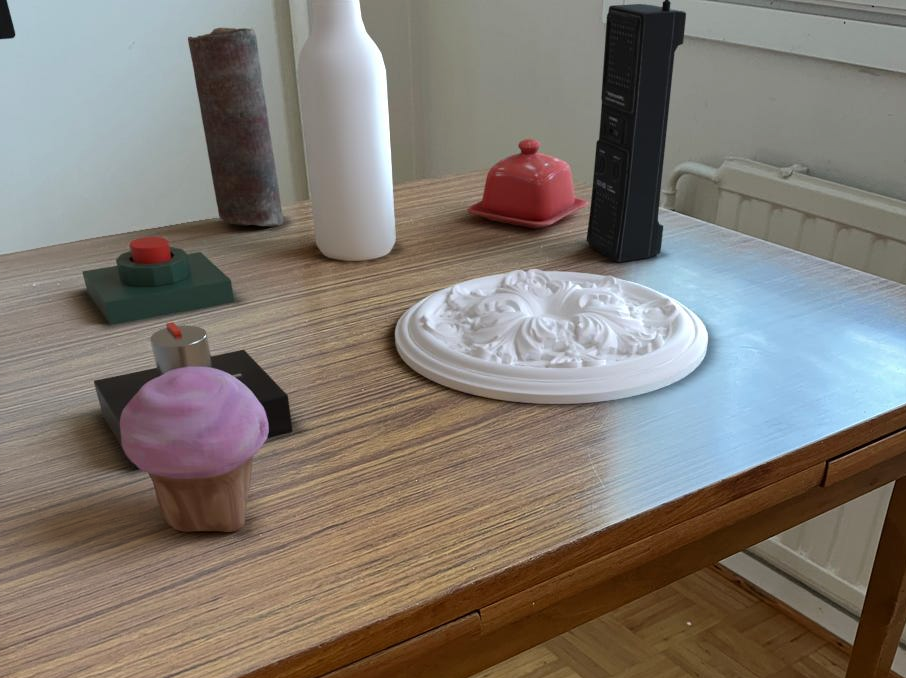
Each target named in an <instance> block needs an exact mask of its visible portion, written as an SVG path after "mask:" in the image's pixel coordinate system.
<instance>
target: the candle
mask: <svg viewBox="0 0 906 678" xmlns="http://www.w3.org/2000/svg"><path fill="white" fill-rule="evenodd" d="M187 44H188V48H189V52H190V53H189V54H190V58H191V62H192V68H193V74H194V80H195V86H196V91H197V92H196V93H197V98H198V103H199V109H200V115H201V121H202V127H203V133H204V138H205V145H206V150H207V155H208V156H207V157H208V160H209V161H208V162H209V167H210V171H211V172H210V174H211V178H212V179H211V180H212V185H213V190H214V195H215V202H216V206H217V212H218V217H219V218H220V219H221V220H223V221H224V222H225V223H228V224H232V225H236V226H250V225H251V226H259V227H274V228H275V227H279V226H282V224H283V223H284V216H283V209H282V202H281V194H280V186H279V182H278V175H277V168H276V163H275V155H274V149H273V143H272V137H271V132H270V123H269V116H268V109H267V102H266V95H265V89H264V84H263V76H262V69H261V61H260V55H259V48H258V47H259V46H258V39H257V34H256V31H255V29H254V28H247V27H246V28H245V27H244V28H235V27H217V28H214V29H213V30H212V31H211V32H210V33H205V34H203V35H197V36H194V37H192V36H188V37H187Z"/></svg>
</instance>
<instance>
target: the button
mask: <svg viewBox="0 0 906 678" xmlns="http://www.w3.org/2000/svg"><path fill="white" fill-rule="evenodd" d="M169 246H170V243H169V240H168V239H167V238H165V237H161V236H145V237H140V238H139V237H138V238H136V239H133V240H132V241H130V242H129V249H130V250H129V251H131V254H132V259H133V262H134V263H138V264H154V263H160V262H164V261H167V260H169V259H171V254H170V249H169Z"/></svg>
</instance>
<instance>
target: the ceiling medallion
mask: <svg viewBox="0 0 906 678" xmlns="http://www.w3.org/2000/svg"><path fill="white" fill-rule="evenodd" d="M394 340H395V348H396V351H397V354H398V355H399V357H400V358H401V360H402V361H403V362H404V363H405V364H406V365H407V366H408V367H410V368H411V369H412V370H413V371H415V372H416V373H417V374H419V375H421V376H422V377H425V378H427V379H428V380H430V381H432V382H434V383H437V384H439V385H441V386H444V387H447V388H449V389H452V390H455V391H459V392H462V393H466V394H470V395H474V396H478V397H483V398H488V399H493V400H500V401H507V402H515V403H523V404H524V403H525V404H526V403H527V404H539V405H540V404H543V405H545V404H546V405H570V404H571V405H572V404H573V405H574V404H590V403H599V402H607V401H616V400H621V399H626V398H632V397H636V396H639V395H644V394H647V393H651V392H654V391H658V390H660V389H662V388H665V387H667V386H669V385H673V384H674V383H676V382H678V381H680V380H682V379H684V378H685V377H687V376H689V375H690V374H691V373H692V372H693V371H694V370H696V369H697V368H698V367H699V366H700V365H701V364H702V362H703V360H704V358H705V356H706V354H707V350H708V342H709V335H708V331H707V328H706V325H705V324H704V323H703V321H702V320H701V319H700V318H699V316H697V315H696V314H695V313H694V312H693V311H692V310H691V309H689V308H688V307H686V306H685V305H684V304H683V303H681V302H679V301H677V300H676V299H674V298H673V297H670V296H668V295H666V294H664V293H661V292H660V291H658V290H655V289H652V288H650V287H648V286H645V285H643V284H640V283H636V282H632V281H630V280H625V279H621V278H618V277H614V276H613V275H609V274H608V275H601V274H594V273H586V272H578V271H577V272H575V271H562V270H561V271H560V270H559V271H558V270H557V271H556V270H541V269H537V268H529V269H528V270H527V271H524V270H522V269H515V270H514V269H513V270H512V271H510V272H507V273H505V272H504V273H499V274H498V273H497V274H492V275H491V274H490V275H487V276H481V277H477V278H473V279H469V280H465V281H462V282H458V283H456V284H453V285H449V286H447V287H445V288H442V289H440V290H438V291H436V292H433V293H432V294H429V295H427V296H425V297H424V298H422V299H420V300H419V301H418V302H417V303H415V304H413V305H412V306H411V307H409V308H408V309H407V310H406V311H404V313H403V314H402V315H401V316H400V317H399V319H398V321H397V322H396V325H395V331H394Z"/></svg>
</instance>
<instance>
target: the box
mask: <svg viewBox="0 0 906 678" xmlns="http://www.w3.org/2000/svg"><path fill="white" fill-rule="evenodd" d="M169 249H170V254H171V259H169V260H167V261H164V262H160V263H154V264H138V263H134V262H133V259H132V254H131V250H129V251H126V252H123V253H121V254H120V255H119V256H118V257H116V259H115V263H116V265H113V266H112V265H111V266H106V267H100V268H94V269H88V270H83V271H81V273H82V276H83V280H84V285H85V288H86V292H87V294H88V296H89V297H90V298H91V299H92V301H93V303H94V304H95V305H96V306H97V308H98V309H99V311H100V312H101V314H102V315H103V317H104V318H105V319H106V321H107V322H108V324H109V325H110V326H113V325H118V324H119V325H120V324H124V323H130V322H135V321H140V320H145V319H150V318H157V317H162V316H167V315H172V314H177V313H184V312H187V311H188V312H189V311H192V310H199V309H204V308H209V307H216V306H221V305H226V304H231V303H235V296H234V290H233V284H232V279H230V278H229V277H228V275H226V274H225V273H224V272H223V271H222V270H221V269H220V268H218V266H216V265H215V264H214V263H213V262H212V261H211V260H210V259H209V258H208V257H207V256H205V254H203V253H202V252H201V251H196V252H190V253H187V252H186V250H184V249H182V248H179V247H174V246H170V245H169Z"/></svg>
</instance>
